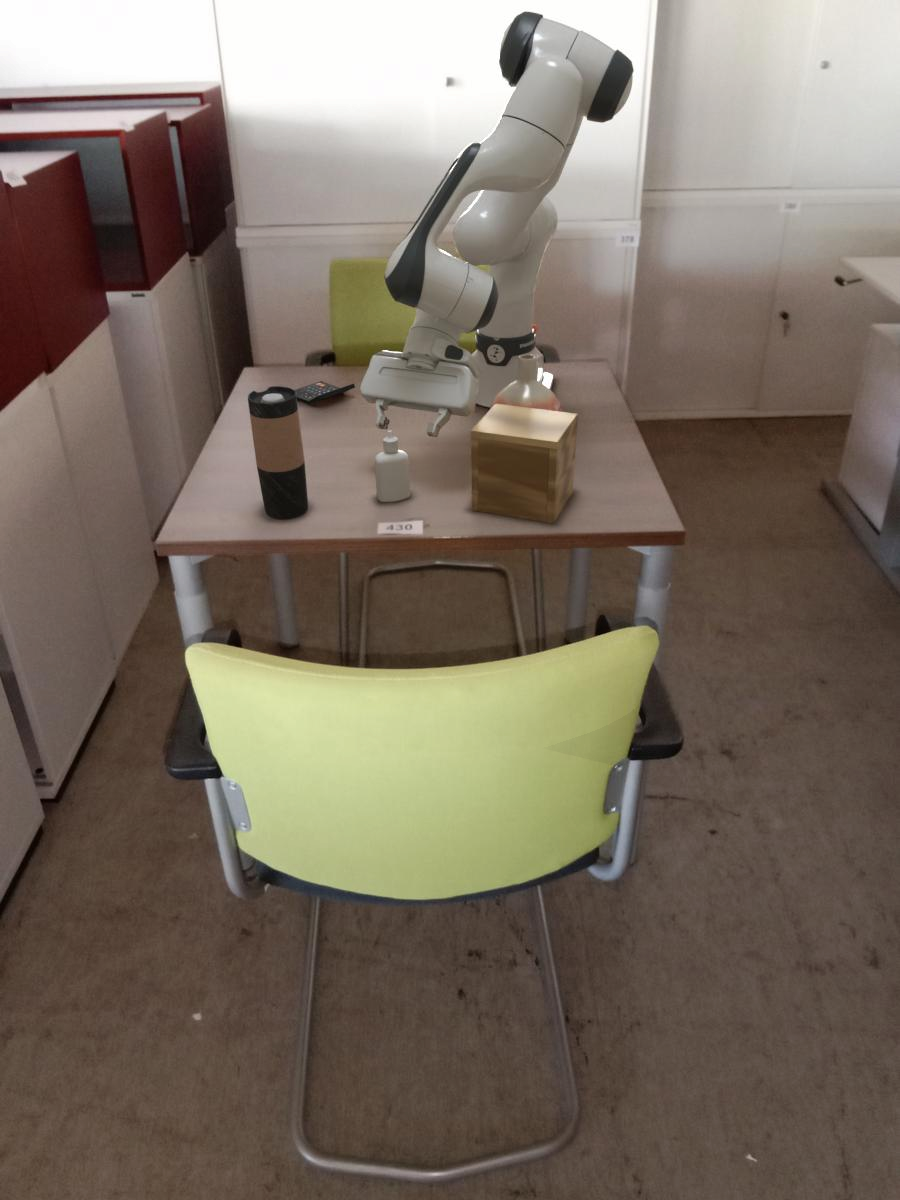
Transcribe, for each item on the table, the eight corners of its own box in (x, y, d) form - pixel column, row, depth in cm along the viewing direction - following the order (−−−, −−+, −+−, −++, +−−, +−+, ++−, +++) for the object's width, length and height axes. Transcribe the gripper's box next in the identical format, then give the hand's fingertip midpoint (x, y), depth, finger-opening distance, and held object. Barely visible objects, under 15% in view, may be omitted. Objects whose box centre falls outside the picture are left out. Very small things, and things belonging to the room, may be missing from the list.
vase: (559, 466, 166) (564, 370, 156) (483, 462, 168) (483, 368, 158) (563, 436, 177) (568, 345, 168) (492, 433, 179) (493, 342, 170)
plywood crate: (495, 479, 162) (495, 403, 154) (573, 491, 158) (577, 413, 150) (471, 510, 153) (470, 430, 145) (553, 523, 148) (557, 442, 141)
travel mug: (302, 522, 150) (288, 404, 139) (257, 519, 151) (239, 402, 141) (315, 500, 157) (303, 386, 146) (272, 498, 158) (256, 384, 147)
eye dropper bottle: (380, 490, 159) (375, 425, 153) (412, 492, 159) (409, 426, 152) (374, 502, 156) (370, 435, 149) (407, 504, 155) (404, 437, 148)
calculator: (321, 384, 203) (320, 371, 202) (356, 397, 197) (355, 383, 195) (287, 396, 198) (285, 382, 196) (321, 410, 191) (320, 396, 189)
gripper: (367, 340, 157) (343, 415, 155) (478, 353, 150) (455, 432, 148) (381, 358, 163) (358, 430, 161) (489, 371, 156) (467, 447, 154)
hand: (406, 431), depth 154 cm, fingers open, 8 cm apart
